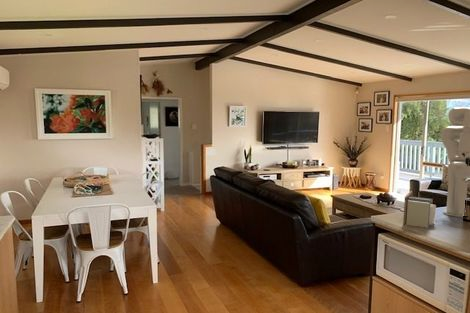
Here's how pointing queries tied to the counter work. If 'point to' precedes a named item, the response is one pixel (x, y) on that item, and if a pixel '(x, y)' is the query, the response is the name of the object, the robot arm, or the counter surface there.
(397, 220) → the counter surface
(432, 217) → the white cup
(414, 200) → the book row
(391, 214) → the counter surface
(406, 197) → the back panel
